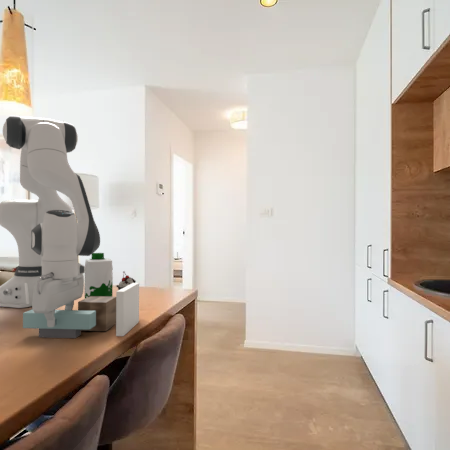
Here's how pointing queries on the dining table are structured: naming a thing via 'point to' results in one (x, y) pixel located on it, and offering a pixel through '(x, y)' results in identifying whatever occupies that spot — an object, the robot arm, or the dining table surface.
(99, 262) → the milk carton
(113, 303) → the block
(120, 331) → the wall
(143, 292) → the dining table surface
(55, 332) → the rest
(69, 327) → the peg
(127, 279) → the sundae
